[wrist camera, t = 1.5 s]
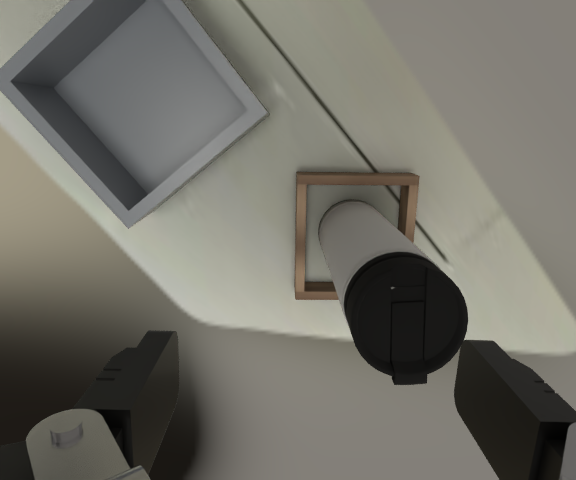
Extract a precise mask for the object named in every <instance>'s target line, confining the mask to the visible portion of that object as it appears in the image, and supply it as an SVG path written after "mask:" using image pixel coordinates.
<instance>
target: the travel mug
mask: <svg viewBox="0 0 576 480" xmlns="http://www.w3.org/2000/svg"><path fill="white" fill-rule="evenodd" d="M318 234H319V241H320V244H321V247H322V250H323V253H324V256H325V259H326V262H327V265H328V268H329V271H330V274H331V277H332V280H333V283H334V286H335V289H336V292H337V295H338V298H339V301H340V304H341V307H342V310H343V313H344V316H345V319H346V322H347V324H348V326H349V328H350V331H351V334H352V337H353V340H354V343H355V346H356V347H357V349H358V351H359V353H360V354H361V356H362V357H363V358H364V359H365V360H366V361H367V363H368V364H370V365H371V366H372V367H374V368H375V369H377V370H378V371H380V372H383V373H385V374H388V375H390V376H392V380H393V383H394V385H414V384H425V383H427V374H429V373H432V372H434V371H436V370H438V369H440V368H441V367H443V366H444V365H445V364H446V363H447V362H449V361H450V360H451V359H452V358H453V356H454V355H455V354H456V353H457V352H458V350H459V348H460V346H461V345H462V343H463V341H464V338H465V335H466V332H467V325H468V312H467V306H466V303H465V299H464V297H463V295H462V293H461V291H460V289H459V288H458V287H457V286H456V284H455V283H454V282H453V281H452V280H451V279H450V278H449V277H448V276H447V275H446V274H445V273H444V272H443V271H441V269H440V268H439V267H438V266H437V265H436V264H435V263H434V262H433V261H432V260H431V259H430V258H429V257H428V256H427V255H425V254H424V253H423V252H422V251H421V250H420V249H419V248H418V247H417V246H416V245H414V244H413V243H412V242H411V241H410V240H409V239H408V238H407V237H406V236H405V235H403V234H402V233H401V232H400V231H399V230H398V229H397V228H396V227H395V226H394V225H392V224H391V223H390V222H389V221H388V220H387V219H386V218H385V217H384V216H383V215H381V214H380V213H379V212H378V211H377V210H376V209H375V208H374V207H372V206H371V205H370V204H368V203H366V202H363V201H359V200H346V201H342V202H339V203H337V204H335V205H334V206H332V207H331V208H330V209H329V210H328V211H327V212H326V213H325V214H324V216H323V218H322V220H321V222H320V225H319V232H318Z"/></svg>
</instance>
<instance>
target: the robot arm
mask: <svg viewBox="0 0 576 480" xmlns="http://www.w3.org/2000/svg"><path fill="white" fill-rule="evenodd" d="M178 393H179V356H178V336H177V332H176V331H151V330H150V331H148V332H147V333H146V334H145V336H144V337H143V339H142V340H141V342H140V343H139V345H138V346H137V348H126V349H124V350H123V351H121V352H120V353H118V354H116V355H115V356H113V357H112V358H111V359H110V361H109V362H108V363H107V364H106V366H105V367H104V370H103V371H101V372H100V374H99V375H98V376H97V378H96V380H95V381H94V382H93V383H92V384H91V386H90V387H89V388H88V389H87V391H86V392H85V393H84V394H83V396H82V397H81V398H80V400H79V401H78V402H77V404H76V405H75V406H74V408H73V409H72V410H67V411H63V412H60V413H57V414H54V415H52V416H50V417H48V418H46V419H44V420H43V421H41V422H40V423H39V424H37V425H36V426H35V427H34V428H33V429H32V430H31V431H30V433H29V434H28V436H27V440H26V441H23V442H19V443H14V444H8V445H4V446H0V480H150V478H149V477H148V474H149V471H150V469H151V466H152V464H153V461H154V459H155V456H156V454H157V451H158V449H159V446H160V444H161V441H162V439H163V436H164V434H165V431H166V429H167V426H168V424H169V421H170V419H171V416H172V414H173V411H174V409H175V406H176V403H177V398H178ZM454 398H455V405H456V408H457V411H458V413H459V415H460V416H461V418H462V420H463V421H464V423H465V424H466V426H467V428H468V429H469V431H470V433H471V434H472V436H473V437H474V439H475V440H476V442H477V444H478V446H479V447H480V449H481V450H482V452H483V454H484V455H485V457H486V459H487V460H488V462H489V463H490V465H491V467H492V468H493V470H494V471H495V473H496V475H497V476H498V478H499V480H576V411H575V410H574V409H573V408H572V407H571V406H570V405H569V404H568V403H567V402H566V401H565V400H563V399H562V398H561V397H560V396H559V395H558V394H557V393H555V392H554V390H553V389H552V388H551V387H550V386H549V385H548V384H547V383H544V380H543V379H542V378H541V377H540V376H538V375H537V374H536V373H535V372H534V371H533V370H532V369H531V368H529V367H527V366H525V365H524V364H522V363H520V362H518V361H517V360H515V359H511V358H510V357H509V356H508V355H507V354H506V353H505V352H504V351H503V350H502V349H501V348H500V347H499V346H498V345H497V344H496V343H495V342H494V341H487V340H464V341H463V343H462V345H461V348H460V355H459V361H458V368H457V375H456V381H455V389H454Z"/></svg>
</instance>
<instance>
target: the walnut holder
mask: <svg viewBox="0 0 576 480" xmlns="http://www.w3.org/2000/svg"><path fill="white" fill-rule="evenodd" d="M307 185H401V196H400V208H399V221H398V230H399V231H400V232H401V233H402V234H403V235H405V236H406V237H407V238H408V239H409V240H410V241H411V242H412V243H413V241H414V230H415V219H416V208H417V197H418V186H419V176H417V175H415V174H412V173H355V172H297V175H296V238H295V299H296V300H339V298H338V295H337V292H336V289H335V286H334V283H333V282H304V280H305V236H306V191H307Z"/></svg>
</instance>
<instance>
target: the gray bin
mask: <svg viewBox="0 0 576 480" xmlns="http://www.w3.org/2000/svg"><path fill="white" fill-rule="evenodd" d="M0 91H1V92H2V93H3V94H4V95H5V96H6V97H7V98H8V99H9V100H10V101H11V103H12V104H13V105H14V106H15V107H16V108H17V109H18V110H19V111H20V112H21V113H22V114H23V116H24V117H25V118H26V119H27V120H28V121H29V122H30V123H31V124H32V125H33V126H34V127H35V128H36V130H37V131H38V132H39V133H40V134H41V135H42V136H43V137H44V138H45V139H46V140H47V141H48V143H49V144H50V145H51V146H52V147H53V148H54V149H55V150H56V151H57V152H58V153H59V154H60V155H61V157H62V158H63V159H64V160H65V161H66V162H67V163H68V164H69V165H70V166H71V167H72V168H73V170H74V171H75V172H76V173H77V174H78V175H79V176H80V177H81V178H82V179H83V180H84V181H85V183H86V184H87V185H88V186H89V187H90V188H91V189H92V190H93V191H94V192H95V193H96V194H97V195H98V197H99V198H100V199H101V200H102V201H103V202H104V203H105V204H106V205H107V206H108V207H109V208H110V210H111V211H112V212H113V213H114V214H115V215H116V216H117V217H118V218H119V219H120V220H121V221H122V222H123V224H124V225H125V226H126V227H127V228H128V229H129V228H130V227H131V226H133V225H134V224H136V223H137V222H139V221H140V220H141V219H143V218H144V217H146V216H147V215H149V214H150V213H152V212H153V211H154V210H156V209H157V208H158V207H159V206H160V205H162V204H163V203H164V202H165V201H166V200H168V199H169V198H170V197H171V196H172V195H174V194H175V193H176V192H177V191H178V190H180V189H181V188H182V187H183V186H184V185H186V184H187V183H188V182H189V181H190V180H192V179H193V178H194V177H195V176H196V175H198V174H199V173H200V172H201V171H202V170H204V169H205V168H206V167H207V166H208V165H210V164H211V163H212V162H213V161H214V160H216V159H217V158H218V157H219V156H220V155H222V154H223V153H224V152H225V151H226V150H228V149H229V148H230V147H231V146H232V145H234V144H235V143H236V142H237V141H238V140H240V139H241V138H242V137H243V136H244V135H246V134H247V133H248V132H249V131H250V130H252V129H253V128H254V127H255V126H256V125H258V124H259V123H260V122H261V121H262V120H264V119H265V118H266V117H267V116H268V115H270V114H269V113H268V111H267V110H266V109H265V107H264V106H263V105H262V104H261V102H260V101H259V100H258V98H257V97H256V96H255V94H254V93H253V92H252V91H251V89H250V88H249V87H248V85H247V84H246V83H245V81H244V80H243V79H242V78H241V76H240V75H239V74H238V72H237V71H236V70H235V69H234V67H233V66H232V65H231V63H230V62H229V61H228V59H227V58H226V57H225V56H224V54H223V53H222V52H221V50H220V49H219V48H218V46H217V45H216V44H215V43H214V41H213V40H212V39H211V37H210V36H209V35H208V33H207V32H206V31H205V30H204V28H203V27H202V26H201V24H200V23H199V22H198V21H197V19H196V18H195V17H194V15H193V14H192V13H191V11H190V10H189V9H188V8H187V6H186V5H185V4H184V2H183V1H182V0H70V1H69V2H68V3H67V4H66V5H65V6H64V7H63V8H62V9H61V10H60V11H59V12H58V13H57V14H56V15H55V16H54V17H53V18H52V19H51V20H50V21H49V22H48V23H47V24H46V25H44V26H43V27H42V28H41V29H40V30H39V31H38V32H37V33H36V34H35V35H34V36H33V37H32V38H31V39H30V40H29V41H28V42H27V43H26V44H25V45H24V46H23V47H22V48H21V49H20V50H19V51H18V52H17V53H16V54H15V55H14V56H13V57H12V58H11V59H10V60H8V61H7V62H6V63H5V64H4V65H3V66H2V67H1V68H0Z"/></svg>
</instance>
